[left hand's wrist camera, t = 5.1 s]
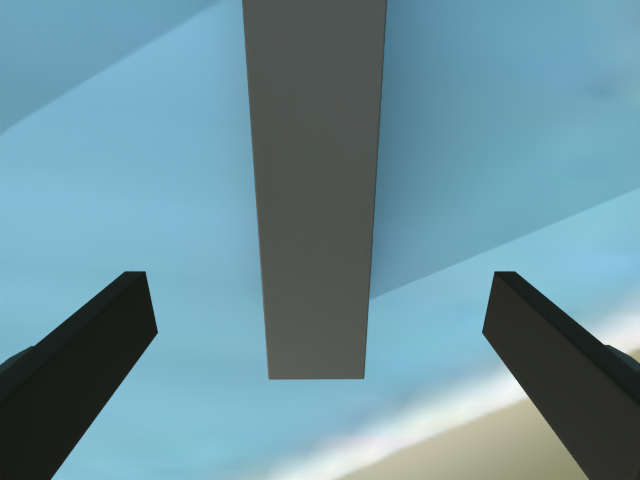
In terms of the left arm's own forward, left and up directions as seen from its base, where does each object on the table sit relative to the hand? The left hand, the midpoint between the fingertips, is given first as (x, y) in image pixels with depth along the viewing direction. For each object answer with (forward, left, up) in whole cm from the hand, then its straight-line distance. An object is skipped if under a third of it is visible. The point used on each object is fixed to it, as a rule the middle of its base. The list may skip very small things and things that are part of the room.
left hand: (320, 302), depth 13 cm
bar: (+33, 0, -12) cm, 35 cm away
